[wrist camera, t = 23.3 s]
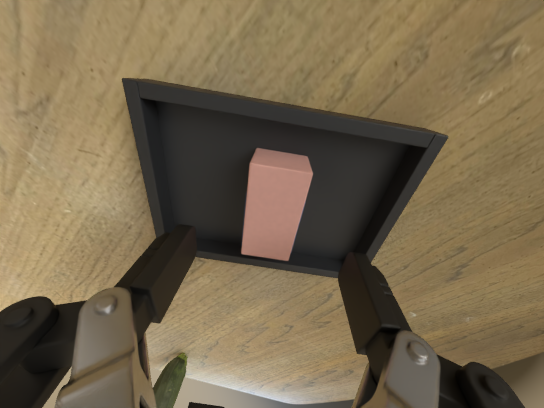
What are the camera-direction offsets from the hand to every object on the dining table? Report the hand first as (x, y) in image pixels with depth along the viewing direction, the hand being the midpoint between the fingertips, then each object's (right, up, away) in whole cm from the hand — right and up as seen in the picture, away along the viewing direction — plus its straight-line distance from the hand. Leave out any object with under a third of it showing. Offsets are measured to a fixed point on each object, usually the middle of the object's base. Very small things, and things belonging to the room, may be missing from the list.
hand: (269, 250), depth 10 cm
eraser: (0, +3, +5) cm, 6 cm away
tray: (0, +3, +5) cm, 6 cm away
